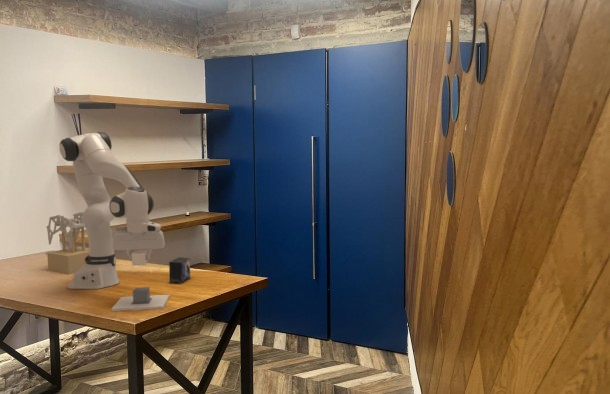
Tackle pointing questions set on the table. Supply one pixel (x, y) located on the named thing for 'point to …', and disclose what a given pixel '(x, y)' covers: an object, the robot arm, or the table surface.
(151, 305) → the plate
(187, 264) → the small box
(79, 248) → the kinetic sculpture
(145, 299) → the slate block
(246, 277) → the table surface
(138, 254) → the off-white block
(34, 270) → the table surface
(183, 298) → the table surface
